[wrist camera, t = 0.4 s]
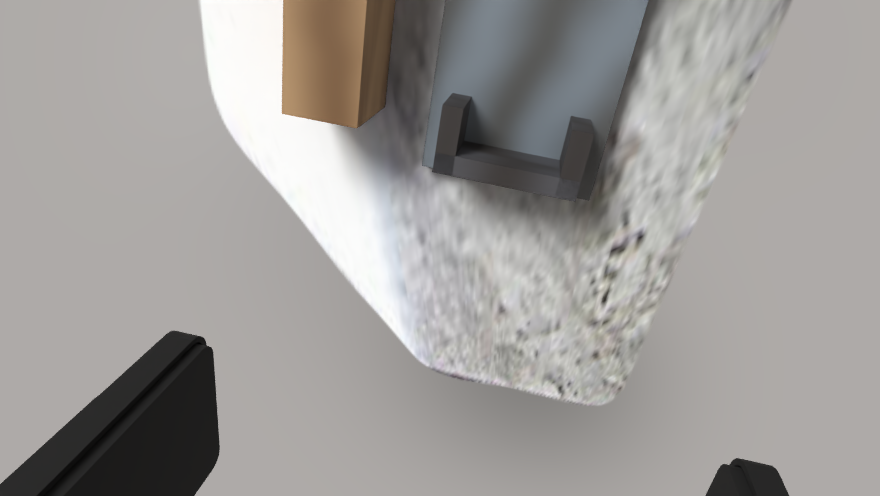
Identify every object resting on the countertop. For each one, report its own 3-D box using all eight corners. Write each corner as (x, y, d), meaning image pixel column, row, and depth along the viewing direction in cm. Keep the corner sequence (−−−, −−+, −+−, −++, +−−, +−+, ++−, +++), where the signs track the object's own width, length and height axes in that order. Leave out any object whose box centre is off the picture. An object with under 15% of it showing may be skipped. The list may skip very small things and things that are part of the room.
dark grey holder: (425, 160, 38) (409, 183, 34) (479, -211, 29) (466, -242, 25) (588, 193, 37) (592, 221, 33) (697, -180, 28) (722, -207, 23)
